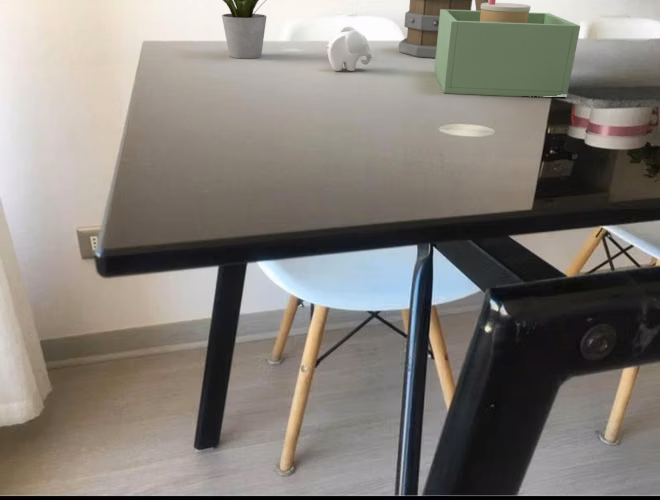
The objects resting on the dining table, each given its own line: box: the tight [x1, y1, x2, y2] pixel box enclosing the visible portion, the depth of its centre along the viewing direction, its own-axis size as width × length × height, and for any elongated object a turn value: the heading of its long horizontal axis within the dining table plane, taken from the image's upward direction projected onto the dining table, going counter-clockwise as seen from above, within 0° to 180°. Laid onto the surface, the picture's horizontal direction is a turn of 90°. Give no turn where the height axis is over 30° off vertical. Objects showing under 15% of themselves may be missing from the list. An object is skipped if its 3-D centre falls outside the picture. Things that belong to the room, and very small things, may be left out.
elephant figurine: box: [320, 25, 375, 72], centre depth 93 cm, size 7×8×6 cm
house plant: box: [221, 0, 267, 59], centre depth 99 cm, size 14×14×16 cm
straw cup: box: [480, 0, 531, 23], centre depth 84 cm, size 6×6×14 cm
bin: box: [434, 9, 581, 98], centre depth 86 cm, size 16×16×9 cm
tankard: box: [398, 0, 489, 59], centre depth 105 cm, size 20×13×15 cm, turn 30°
